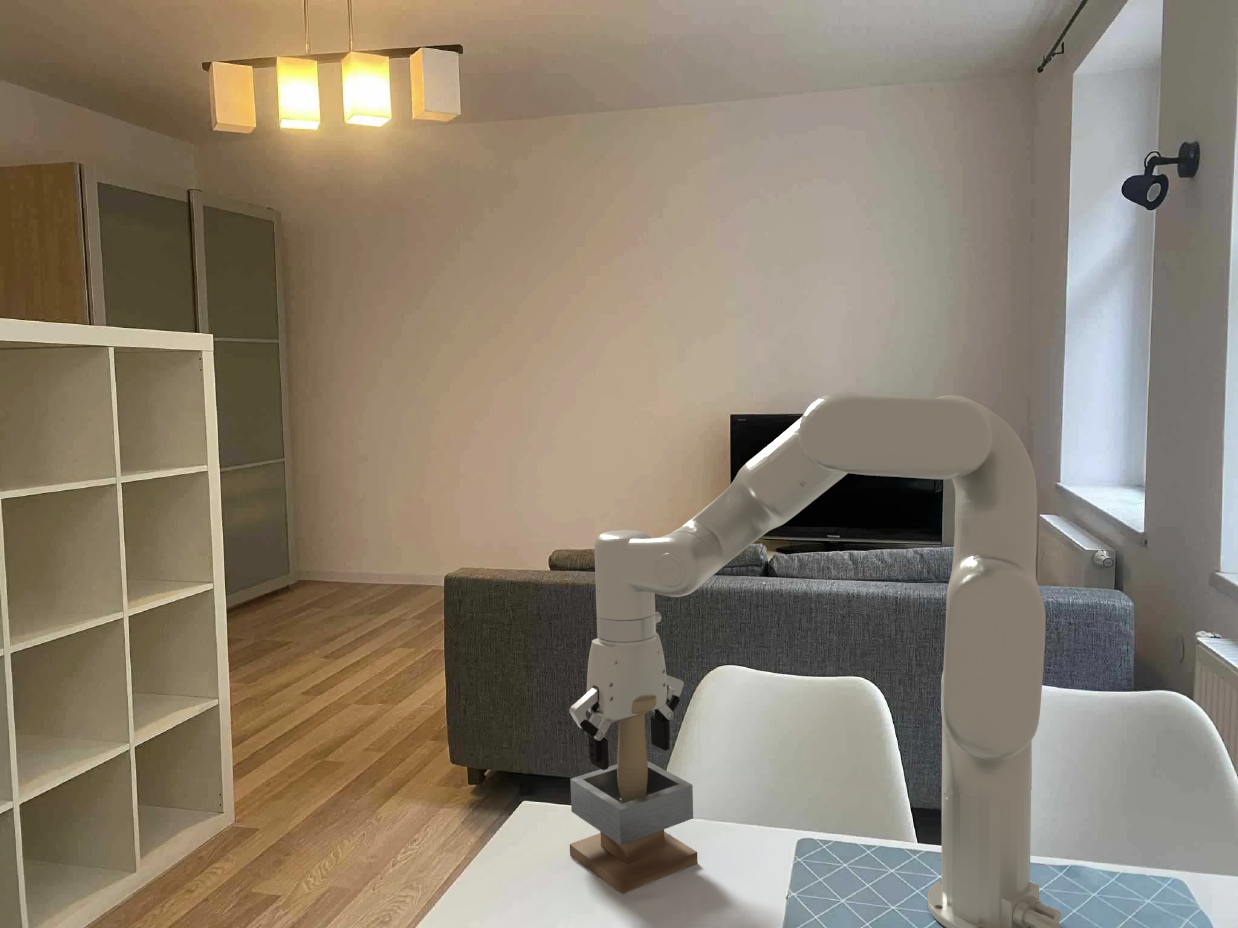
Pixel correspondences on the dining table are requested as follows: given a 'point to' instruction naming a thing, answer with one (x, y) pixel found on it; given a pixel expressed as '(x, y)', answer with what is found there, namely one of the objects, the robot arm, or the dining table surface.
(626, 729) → the handle
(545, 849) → the dining table surface
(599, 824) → the grey open box
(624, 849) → the stand
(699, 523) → the robot arm
